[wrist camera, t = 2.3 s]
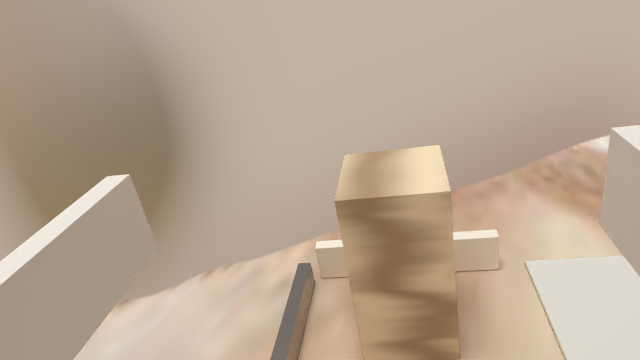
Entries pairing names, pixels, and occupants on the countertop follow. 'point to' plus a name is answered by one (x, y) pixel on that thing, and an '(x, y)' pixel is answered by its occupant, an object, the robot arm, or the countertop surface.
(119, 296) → the robot arm
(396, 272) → the maple block
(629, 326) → the grey mat
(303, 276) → the bar
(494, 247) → the lane rail
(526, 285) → the countertop surface
